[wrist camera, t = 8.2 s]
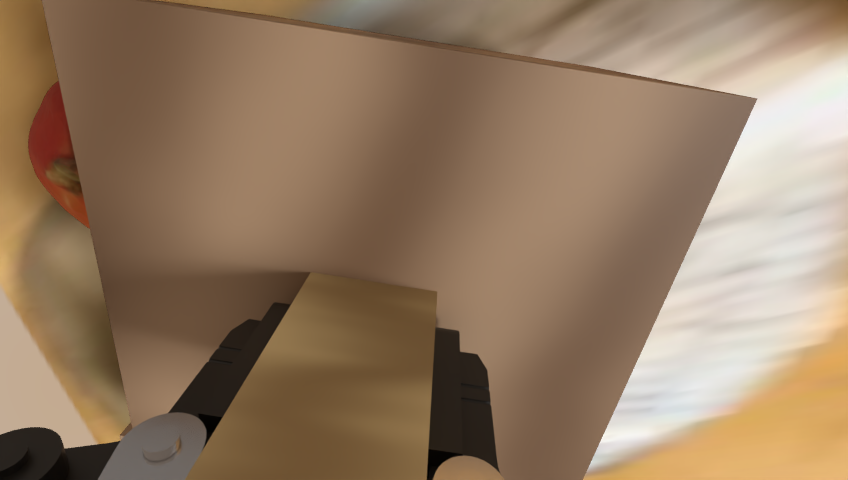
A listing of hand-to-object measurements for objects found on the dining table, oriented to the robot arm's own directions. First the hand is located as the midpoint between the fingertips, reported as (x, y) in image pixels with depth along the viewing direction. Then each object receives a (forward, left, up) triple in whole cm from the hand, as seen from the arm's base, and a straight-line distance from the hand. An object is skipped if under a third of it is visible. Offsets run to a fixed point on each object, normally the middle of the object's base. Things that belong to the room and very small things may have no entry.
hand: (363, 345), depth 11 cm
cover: (0, 0, -12) cm, 12 cm away
